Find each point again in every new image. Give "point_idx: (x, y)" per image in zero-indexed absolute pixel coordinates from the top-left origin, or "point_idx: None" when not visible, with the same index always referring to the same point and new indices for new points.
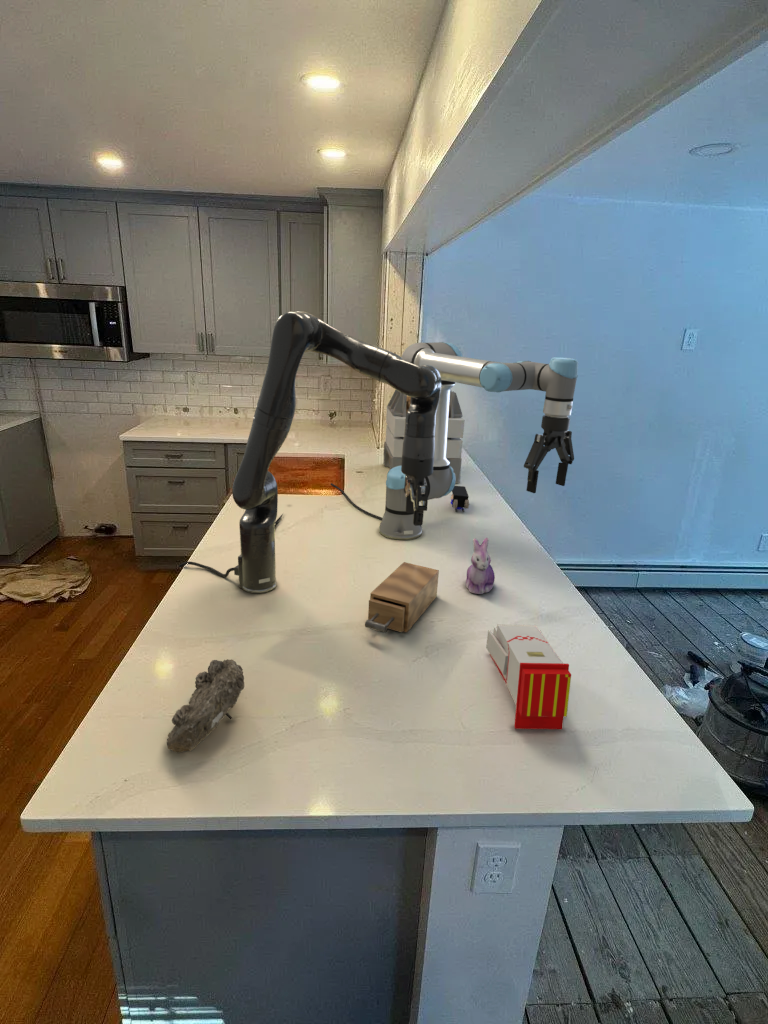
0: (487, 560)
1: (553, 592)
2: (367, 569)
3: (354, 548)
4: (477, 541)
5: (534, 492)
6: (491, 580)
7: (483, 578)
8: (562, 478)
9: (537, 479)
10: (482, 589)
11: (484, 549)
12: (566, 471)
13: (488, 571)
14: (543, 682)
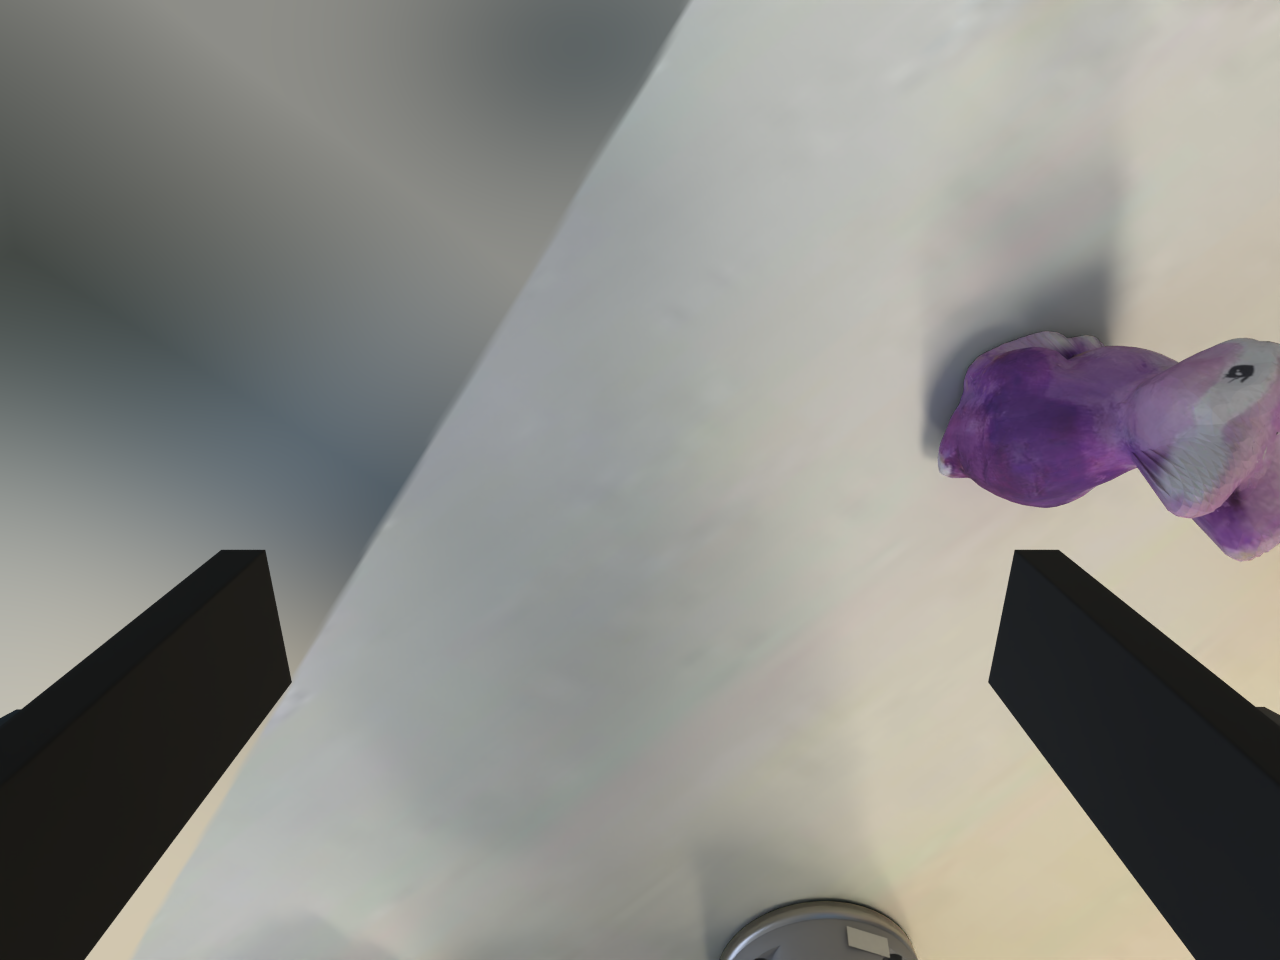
0: (1244, 365)
1: (746, 115)
2: None
3: (1108, 943)
4: (1261, 520)
5: (1057, 554)
6: (1048, 349)
7: (1151, 351)
8: (199, 653)
9: (1178, 695)
10: (1094, 343)
11: (1257, 434)
12: (27, 719)
13: (1108, 370)
14: None
